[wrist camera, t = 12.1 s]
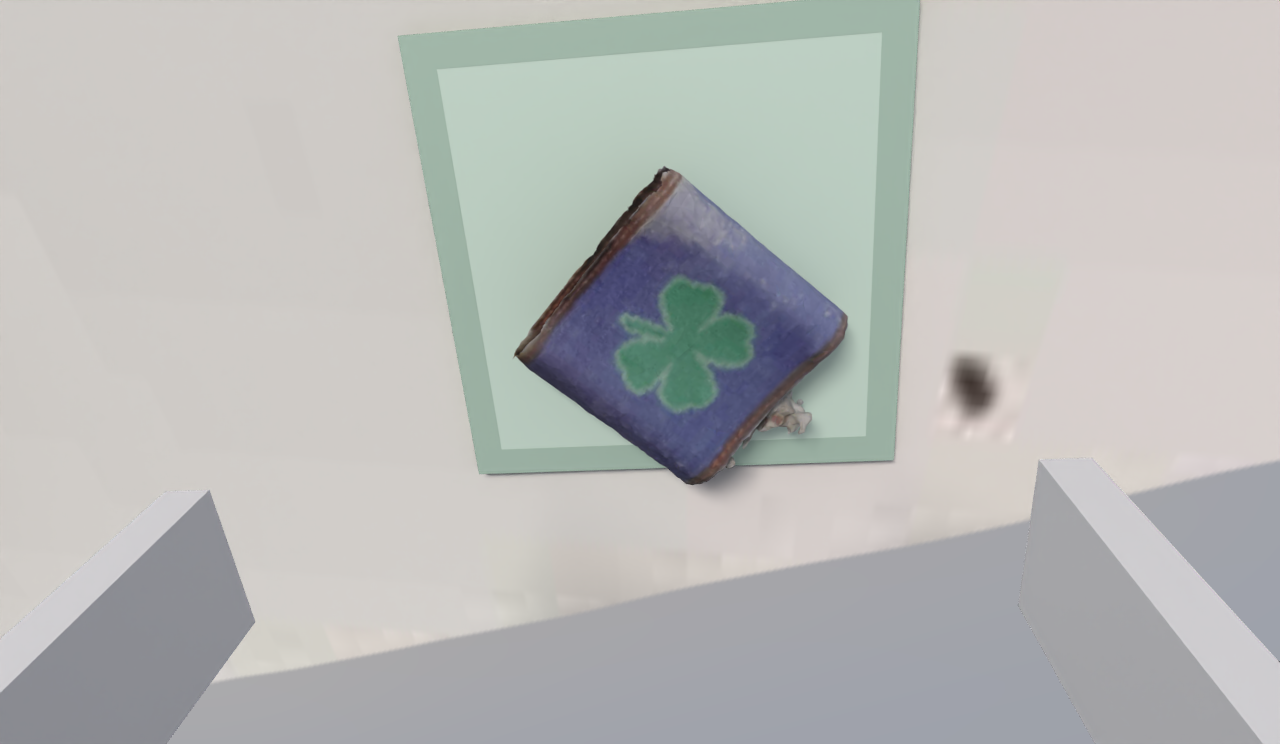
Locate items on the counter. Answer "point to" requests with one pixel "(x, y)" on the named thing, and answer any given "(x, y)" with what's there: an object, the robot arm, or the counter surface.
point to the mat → (626, 163)
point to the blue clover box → (684, 332)
